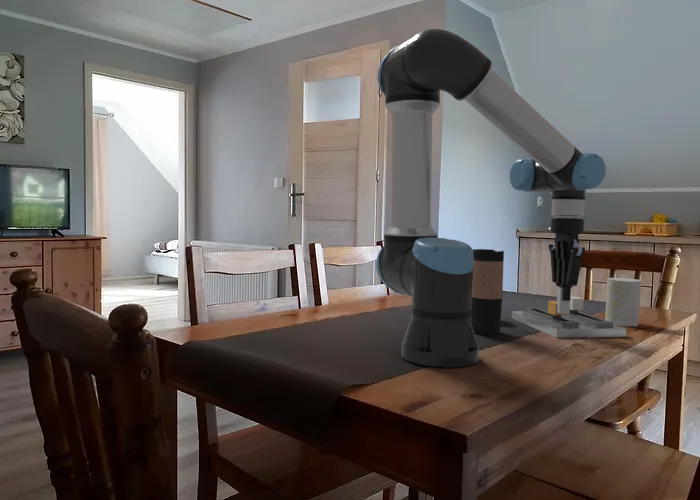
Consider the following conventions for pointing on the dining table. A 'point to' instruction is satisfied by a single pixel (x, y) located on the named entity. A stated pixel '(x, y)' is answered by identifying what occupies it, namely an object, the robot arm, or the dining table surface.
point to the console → (568, 324)
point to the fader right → (576, 304)
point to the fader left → (554, 309)
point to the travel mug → (487, 291)
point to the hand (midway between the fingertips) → (562, 313)
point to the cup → (623, 301)
